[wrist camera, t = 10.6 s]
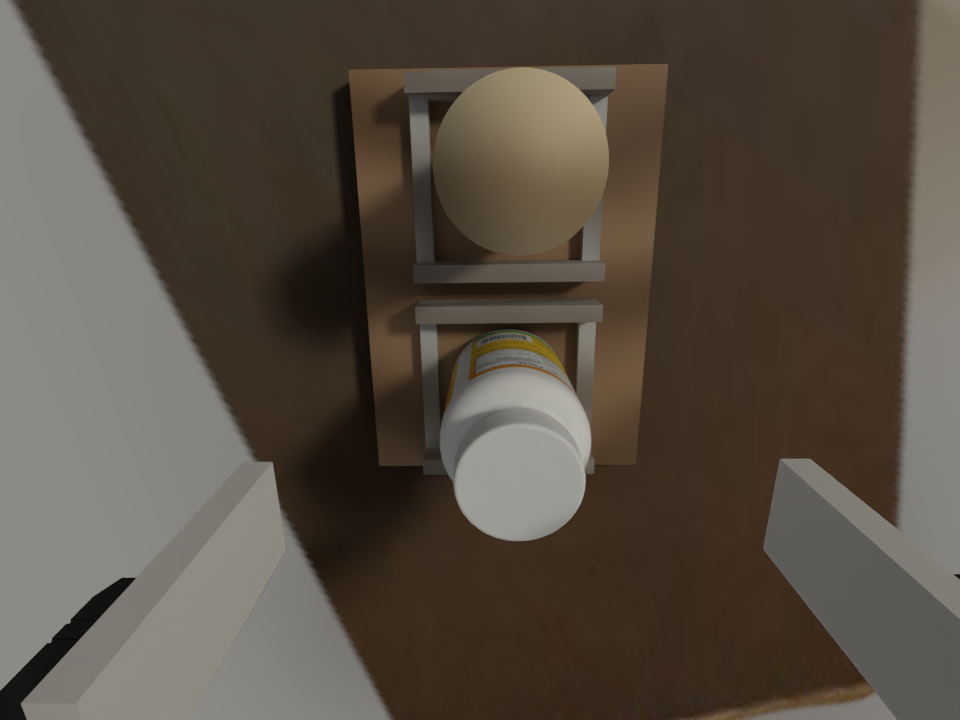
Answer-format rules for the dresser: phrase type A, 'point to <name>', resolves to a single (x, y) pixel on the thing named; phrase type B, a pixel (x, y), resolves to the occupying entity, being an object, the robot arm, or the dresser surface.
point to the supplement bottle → (514, 437)
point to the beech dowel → (520, 161)
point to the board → (502, 261)
